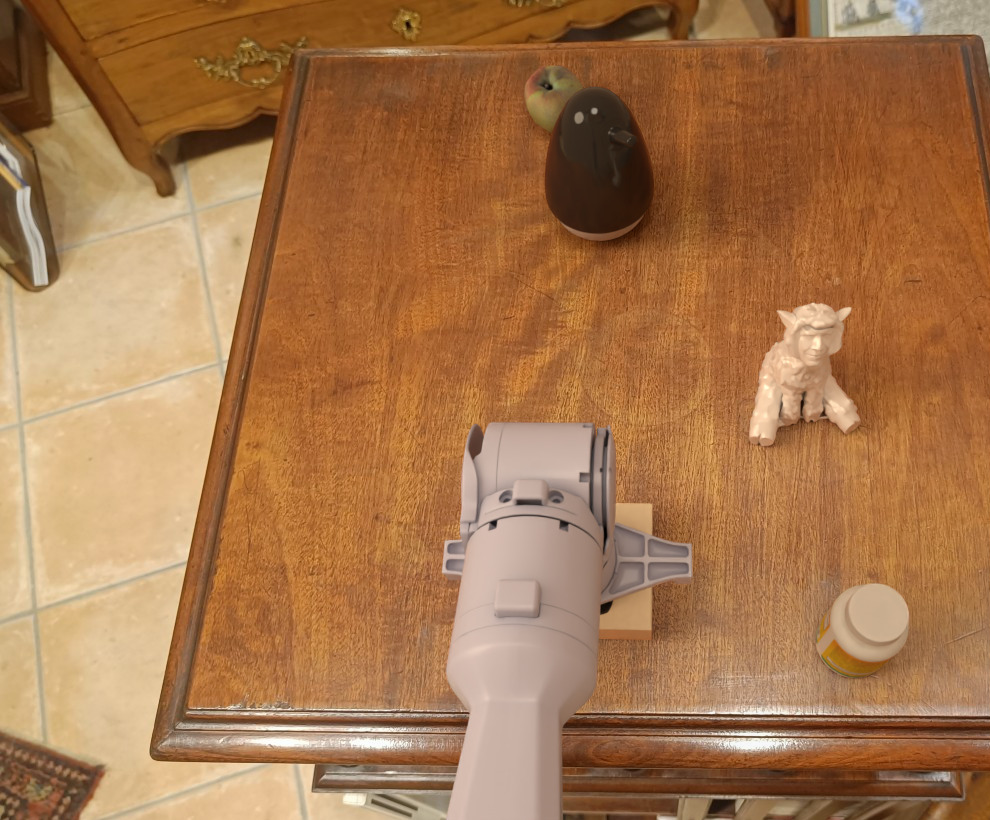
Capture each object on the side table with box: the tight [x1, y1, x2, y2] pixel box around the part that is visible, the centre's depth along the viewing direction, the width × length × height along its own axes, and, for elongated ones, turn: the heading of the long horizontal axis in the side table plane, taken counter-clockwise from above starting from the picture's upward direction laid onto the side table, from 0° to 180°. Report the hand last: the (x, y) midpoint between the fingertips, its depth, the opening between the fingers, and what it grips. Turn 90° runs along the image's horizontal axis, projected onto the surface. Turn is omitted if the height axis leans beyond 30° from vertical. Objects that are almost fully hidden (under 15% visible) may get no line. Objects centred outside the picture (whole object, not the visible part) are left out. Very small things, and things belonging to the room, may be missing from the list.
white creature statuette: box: [748, 302, 862, 447], centre depth 74 cm, size 10×9×12 cm
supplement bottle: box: [815, 582, 910, 679], centre depth 65 cm, size 5×5×10 cm
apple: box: [523, 64, 585, 134], centre depth 93 cm, size 6×8×6 cm
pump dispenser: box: [544, 86, 655, 242], centre depth 83 cm, size 10×10×15 cm
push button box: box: [599, 502, 654, 641], centre depth 71 cm, size 10×10×5 cm
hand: (578, 590), depth 62 cm, fingers closed
